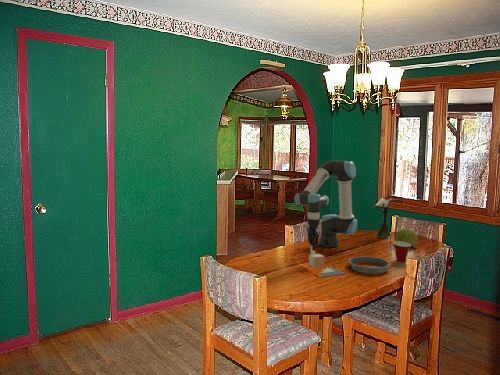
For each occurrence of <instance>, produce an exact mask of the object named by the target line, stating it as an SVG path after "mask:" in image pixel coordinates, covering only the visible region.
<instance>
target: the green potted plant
mask: <svg viewBox="0 0 500 375" xmlns="http://www.w3.org/2000/svg"><path fill="white" fill-rule="evenodd" d="M395 241H401V242H406V243H409V244H411V246H410V247H409V248H412V247H414V246H415V245H416V244H417V243H418V235H417V233H416V232H415V230H413V229H411V228H409V227H407V228H406V227H405V228H400V229H398V231H396V233H395V235H394V242H395Z"/></svg>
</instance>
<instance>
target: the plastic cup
mask: <svg viewBox="0 0 500 375" xmlns="http://www.w3.org/2000/svg"><path fill="white" fill-rule="evenodd" d="M393 245H394V246H393V247H394V252H395V259H396V261H397V262H399V263H404V262H406V260H407V256H408V253H409V249H410V248H411V247H410V246H411V244H409V243H406V242H401V241H395V240H394V241H393Z"/></svg>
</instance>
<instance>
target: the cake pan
mask: <svg viewBox="0 0 500 375" xmlns="http://www.w3.org/2000/svg"><path fill="white" fill-rule="evenodd" d="M348 263H349V264H350V268H351V269H352V270H353V271H355V272H358V273H362V274H367V275H368V274H371V275H377V274H383V273H385V272H387V270H388V268H389V266H390V262H389V261H388V260H386V259H384V258H380V257H375V256H354V257H351V258H349V259H348ZM359 264H369V265H370V264H371V265H376V266H362V265H359Z"/></svg>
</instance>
